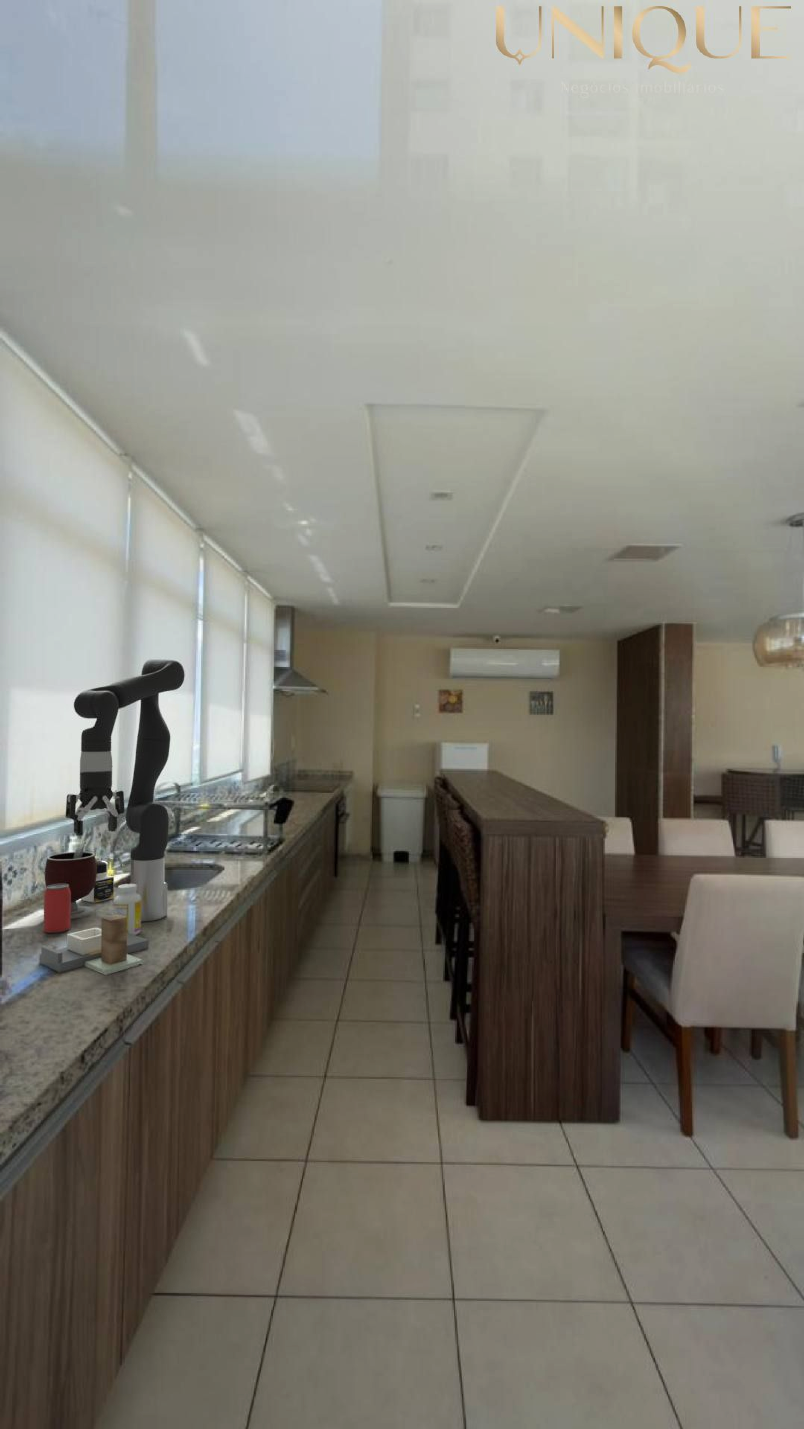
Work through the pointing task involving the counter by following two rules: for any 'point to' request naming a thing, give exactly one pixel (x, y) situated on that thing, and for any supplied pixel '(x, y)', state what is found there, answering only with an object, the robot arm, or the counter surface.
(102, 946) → the peg
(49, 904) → the beer can
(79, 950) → the tab
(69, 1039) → the counter surface
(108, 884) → the medicine bottle
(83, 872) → the mate gourd
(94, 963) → the tool rest
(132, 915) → the supplement bottle
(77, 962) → the switch panel
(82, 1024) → the counter surface
